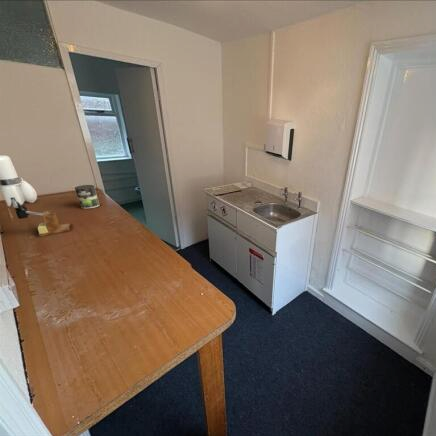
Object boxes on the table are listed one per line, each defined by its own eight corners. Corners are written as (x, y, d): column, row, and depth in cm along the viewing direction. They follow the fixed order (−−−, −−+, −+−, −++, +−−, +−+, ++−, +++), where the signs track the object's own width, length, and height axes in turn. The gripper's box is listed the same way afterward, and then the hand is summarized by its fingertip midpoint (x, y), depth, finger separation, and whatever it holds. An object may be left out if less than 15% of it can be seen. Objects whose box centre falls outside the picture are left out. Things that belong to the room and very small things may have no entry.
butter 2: (39, 233, 122) (37, 228, 121) (40, 231, 124) (38, 226, 123) (47, 232, 123) (45, 227, 122) (48, 229, 126) (46, 225, 125)
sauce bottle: (24, 201, 165) (13, 177, 158) (39, 199, 170) (30, 175, 163) (23, 204, 160) (12, 179, 153) (39, 202, 165) (29, 177, 158)
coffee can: (97, 207, 161) (91, 188, 155) (78, 209, 157) (71, 189, 151) (101, 203, 169) (96, 184, 164) (84, 204, 165) (77, 185, 160)
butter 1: (40, 230, 125) (38, 225, 124) (41, 228, 127) (39, 223, 126) (48, 229, 127) (46, 224, 126) (49, 227, 129) (47, 222, 128)
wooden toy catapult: (39, 236, 122) (30, 217, 117) (41, 230, 128) (33, 212, 124) (69, 230, 129) (63, 212, 125) (70, 225, 135) (63, 207, 131)
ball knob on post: (15, 214, 116) (17, 208, 115) (16, 212, 118) (18, 206, 118) (52, 219, 125) (53, 214, 125) (52, 217, 127) (54, 212, 127)
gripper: (0, 179, 115) (16, 213, 122) (-9, 186, 104) (9, 224, 111) (22, 177, 120) (36, 210, 127) (16, 184, 108) (32, 220, 115)
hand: (24, 216), depth 119 cm, fingers closed on ball knob on post, 3 cm apart
